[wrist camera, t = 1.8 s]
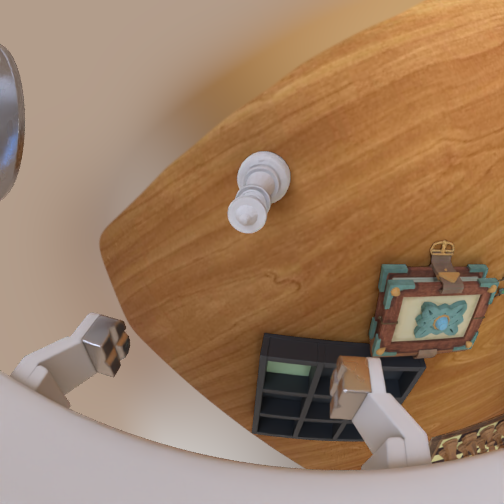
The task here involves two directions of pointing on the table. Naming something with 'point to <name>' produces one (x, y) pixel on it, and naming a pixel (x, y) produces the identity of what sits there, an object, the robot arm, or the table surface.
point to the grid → (315, 386)
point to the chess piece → (258, 190)
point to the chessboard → (468, 441)
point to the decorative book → (430, 307)
